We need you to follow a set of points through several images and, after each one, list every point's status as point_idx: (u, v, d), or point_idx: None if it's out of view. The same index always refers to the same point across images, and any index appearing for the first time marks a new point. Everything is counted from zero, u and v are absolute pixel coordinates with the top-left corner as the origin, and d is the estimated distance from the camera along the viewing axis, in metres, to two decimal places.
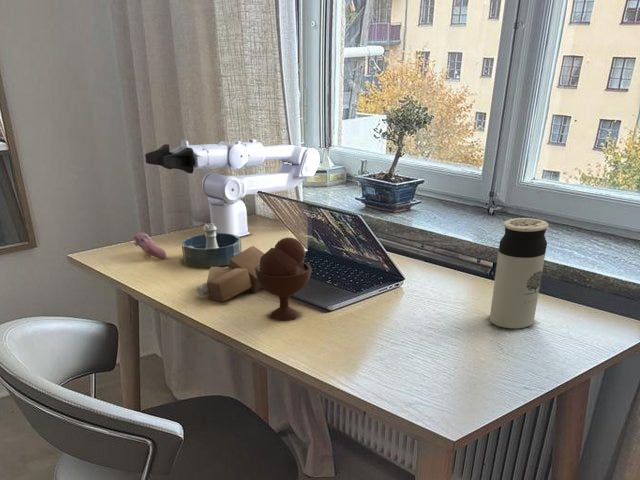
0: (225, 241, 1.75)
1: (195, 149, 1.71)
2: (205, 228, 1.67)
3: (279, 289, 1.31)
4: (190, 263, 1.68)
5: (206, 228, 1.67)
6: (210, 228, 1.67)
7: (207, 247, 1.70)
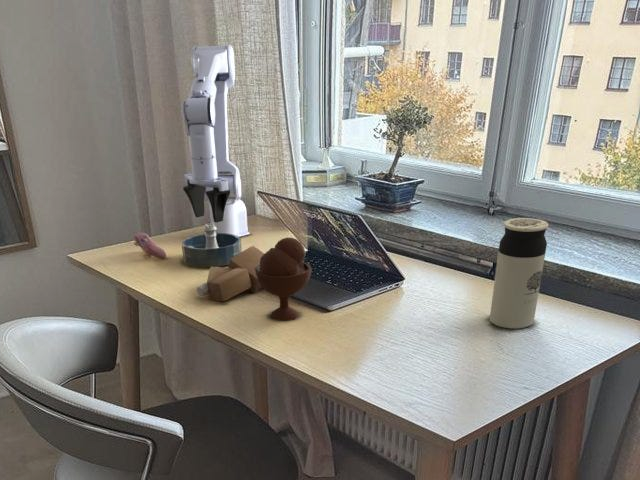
0: (225, 241, 1.75)
1: (202, 173, 1.59)
2: (205, 228, 1.67)
3: (279, 289, 1.31)
4: (190, 263, 1.68)
5: (206, 228, 1.67)
6: (210, 228, 1.67)
7: (207, 247, 1.70)
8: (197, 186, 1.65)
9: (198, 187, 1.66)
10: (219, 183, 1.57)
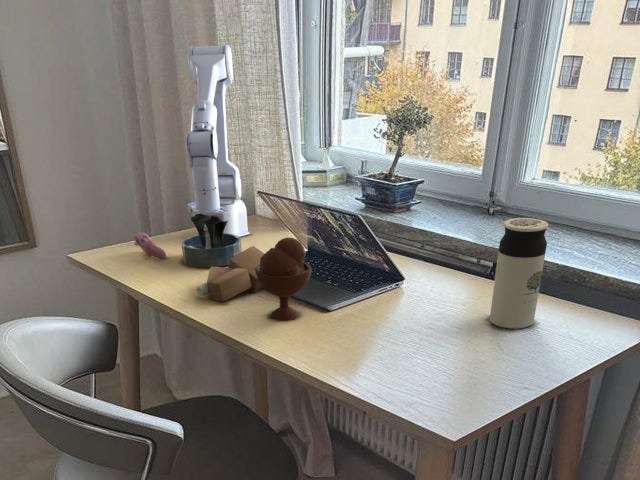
0: (225, 241, 1.75)
1: (205, 204, 1.62)
2: (205, 228, 1.67)
3: (279, 289, 1.31)
4: (190, 263, 1.68)
5: (206, 228, 1.67)
6: None
7: (207, 247, 1.70)
8: (204, 216, 1.68)
9: (205, 217, 1.68)
10: (222, 214, 1.61)
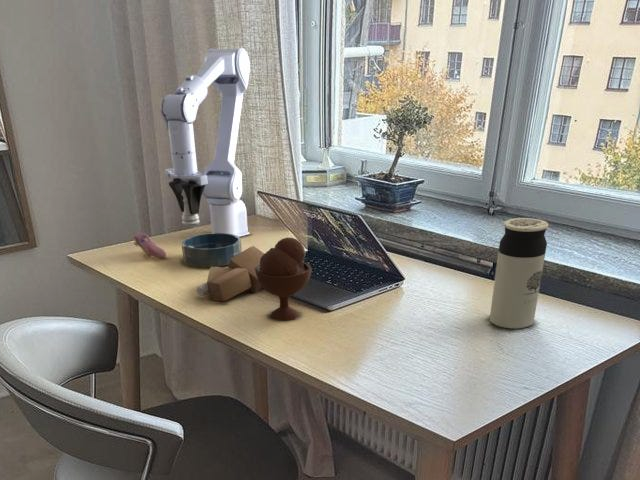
0: (225, 241, 1.75)
1: (182, 168, 1.64)
2: (183, 193, 1.68)
3: (279, 289, 1.31)
4: (190, 263, 1.68)
5: (184, 193, 1.68)
6: None
7: (185, 212, 1.71)
8: (182, 181, 1.69)
9: (183, 182, 1.69)
10: (199, 177, 1.62)
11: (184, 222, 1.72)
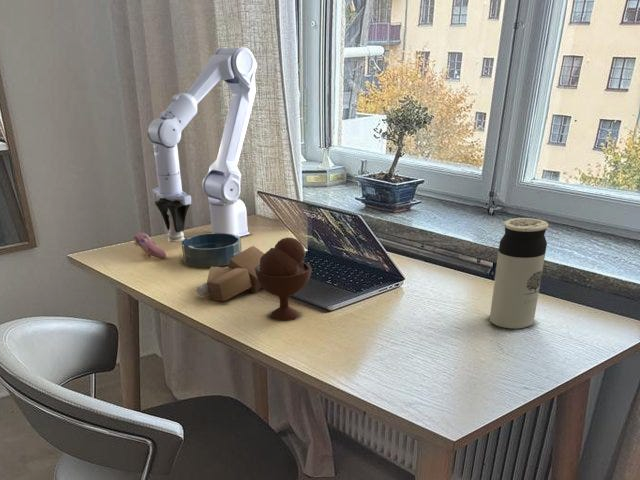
0: (225, 241, 1.75)
1: (167, 188, 1.71)
2: (168, 212, 1.76)
3: (279, 289, 1.31)
4: (190, 263, 1.68)
5: (169, 212, 1.76)
6: None
7: (171, 230, 1.79)
8: (168, 201, 1.77)
9: (169, 201, 1.77)
10: (183, 197, 1.70)
11: (169, 239, 1.80)
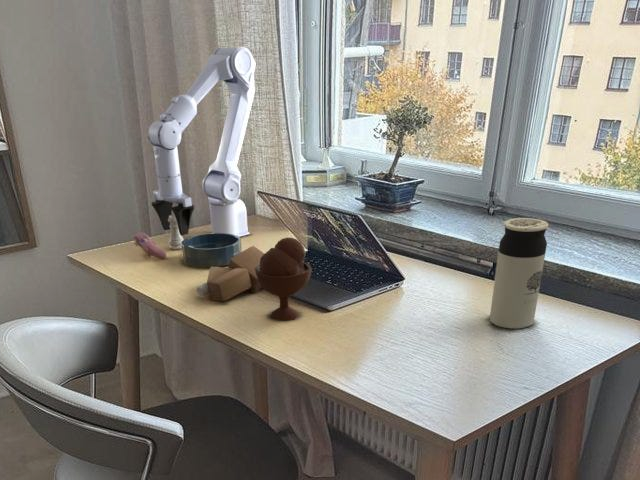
0: (225, 241, 1.75)
1: (167, 191, 1.72)
2: (169, 219, 1.77)
3: (279, 289, 1.31)
4: (190, 263, 1.68)
5: (170, 219, 1.77)
6: (174, 219, 1.77)
7: (171, 237, 1.80)
8: (164, 201, 1.79)
9: (165, 202, 1.79)
10: (183, 200, 1.70)
11: (170, 246, 1.81)
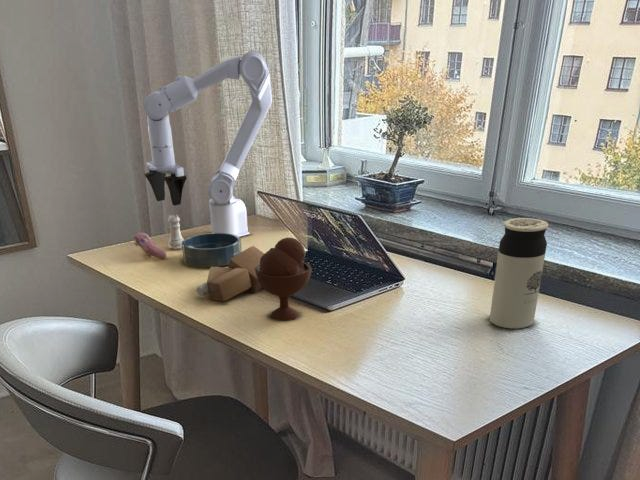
0: (225, 241, 1.75)
1: (160, 161, 1.76)
2: (169, 219, 1.77)
3: (279, 289, 1.31)
4: (190, 263, 1.68)
5: (170, 219, 1.77)
6: (174, 219, 1.77)
7: (171, 237, 1.80)
8: (157, 173, 1.83)
9: (158, 173, 1.83)
10: (175, 169, 1.74)
11: (170, 246, 1.81)
